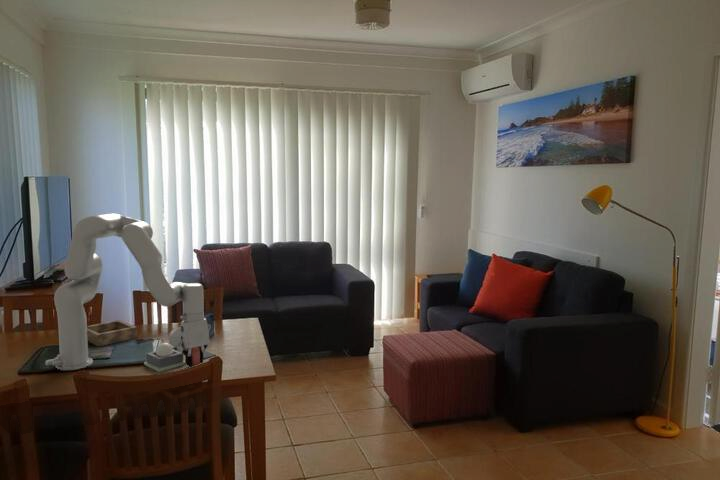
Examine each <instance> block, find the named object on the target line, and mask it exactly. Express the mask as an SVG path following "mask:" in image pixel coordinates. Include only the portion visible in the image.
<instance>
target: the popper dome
mask: <svg viewBox="0 0 720 480" xmlns="http://www.w3.org/2000/svg"><path fill="white" fill-rule="evenodd" d="M155 351H156V355H157V356H159V357H165V356H169V355H173V346H172V345H171V344H169V342H162V343H160V344H159V345H158V346H157V348H156V350H155Z"/></svg>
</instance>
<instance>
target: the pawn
mask: <svg viewBox="0 0 720 480" xmlns="http://www.w3.org/2000/svg"><path fill="white" fill-rule="evenodd" d="M191 356H192V366H195V365H198V364H200V365H201V363H200V349H199V347H196V348H192V349H191ZM188 367H190V368H192V367H191V366H188Z"/></svg>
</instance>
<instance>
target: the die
mask: <svg viewBox="0 0 720 480" xmlns="http://www.w3.org/2000/svg"><path fill="white" fill-rule="evenodd" d="M180 328H181V326H178V327H176V328H174V329H172V330H170V334H169V337H168V339H169V340H168V341H169V342H168V343H169V344H170V345H171V346H172V347H174V348H176V349H177V347H178V345H179V343H180Z"/></svg>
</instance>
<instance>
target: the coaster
mask: <svg viewBox="0 0 720 480" xmlns="http://www.w3.org/2000/svg"><path fill="white" fill-rule="evenodd" d="M213 357H216V354H215V353H212V352H209V351H206V350H205V352H204V353H203V360H205V359H210V358H213Z"/></svg>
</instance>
